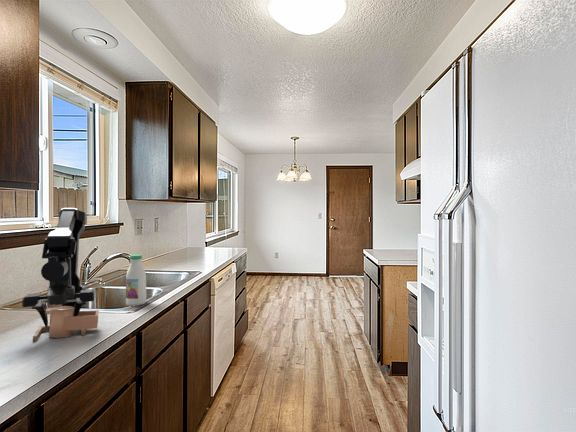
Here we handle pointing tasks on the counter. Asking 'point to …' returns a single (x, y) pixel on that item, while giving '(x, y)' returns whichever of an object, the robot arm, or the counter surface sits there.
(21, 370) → the counter surface
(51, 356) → the counter surface
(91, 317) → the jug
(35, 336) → the cradle
